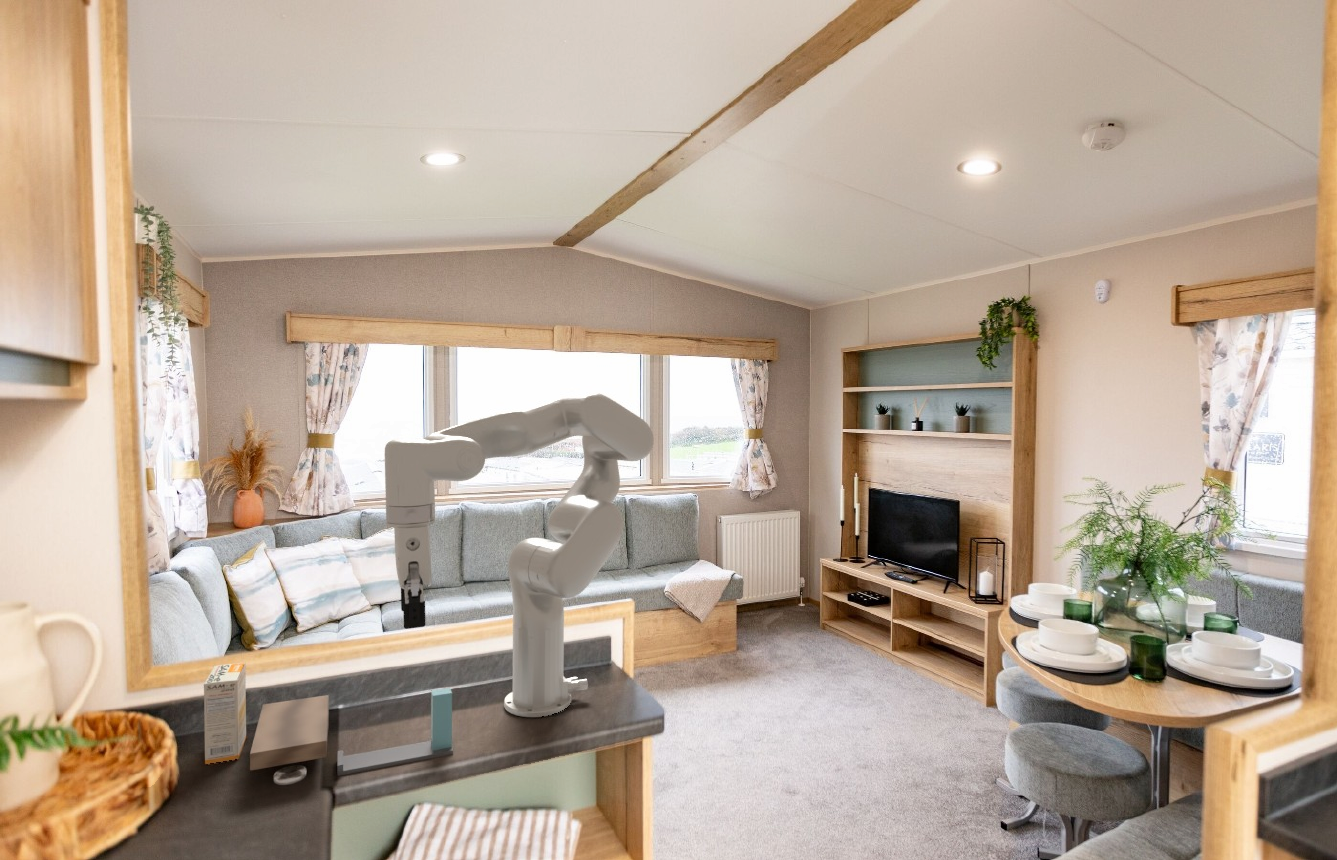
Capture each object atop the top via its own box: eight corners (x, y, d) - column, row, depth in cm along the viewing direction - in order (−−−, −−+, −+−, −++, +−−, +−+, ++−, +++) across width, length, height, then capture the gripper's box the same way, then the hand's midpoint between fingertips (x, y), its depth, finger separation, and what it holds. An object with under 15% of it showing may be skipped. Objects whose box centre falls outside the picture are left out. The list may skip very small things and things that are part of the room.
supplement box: (213, 743, 117) (212, 665, 117) (246, 738, 119) (246, 661, 119) (203, 766, 110) (202, 683, 109) (238, 760, 111) (238, 678, 111)
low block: (328, 727, 123) (328, 695, 123) (326, 778, 107) (326, 740, 106) (263, 737, 119) (262, 704, 119) (250, 792, 102) (249, 753, 102)
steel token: (307, 769, 110) (307, 763, 110) (305, 783, 106) (305, 776, 106) (274, 775, 108) (274, 768, 108) (272, 789, 104) (272, 782, 104)
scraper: (448, 741, 119) (448, 684, 119) (452, 754, 114) (453, 696, 114) (337, 761, 112) (337, 701, 111) (337, 776, 107) (337, 714, 107)
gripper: (439, 521, 108) (441, 631, 109) (430, 505, 124) (432, 601, 125) (387, 525, 105) (389, 638, 106) (384, 508, 121) (387, 606, 122)
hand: (412, 618), depth 115 cm, fingers open, 9 cm apart
